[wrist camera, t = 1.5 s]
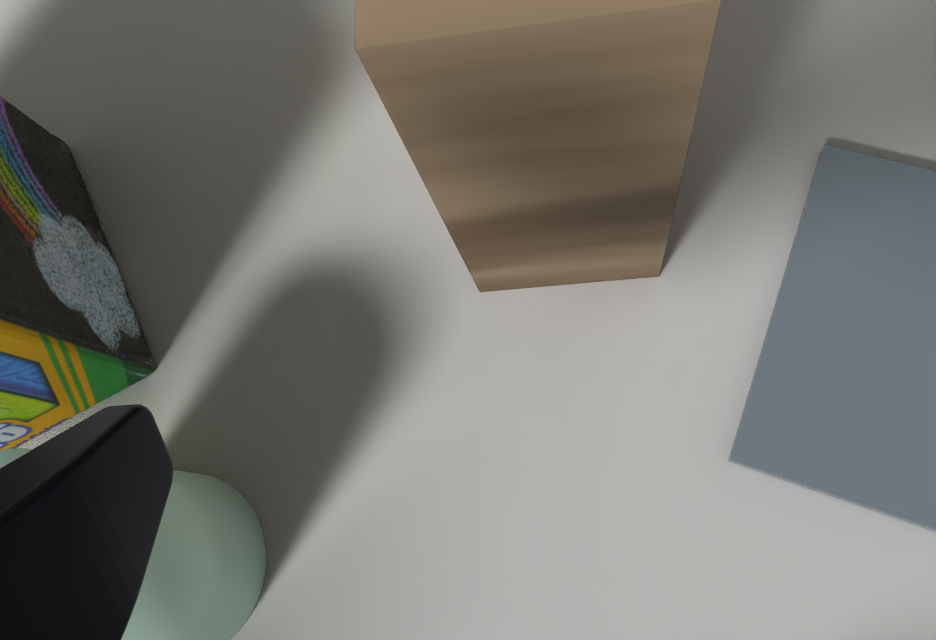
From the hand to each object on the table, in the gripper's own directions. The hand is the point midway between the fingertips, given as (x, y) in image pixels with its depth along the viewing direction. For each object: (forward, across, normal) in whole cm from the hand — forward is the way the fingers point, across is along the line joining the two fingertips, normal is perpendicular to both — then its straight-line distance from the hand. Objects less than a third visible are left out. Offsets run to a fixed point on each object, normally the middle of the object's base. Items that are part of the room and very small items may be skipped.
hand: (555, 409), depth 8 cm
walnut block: (+15, 0, +4) cm, 15 cm away
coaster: (+11, -10, +7) cm, 16 cm away
